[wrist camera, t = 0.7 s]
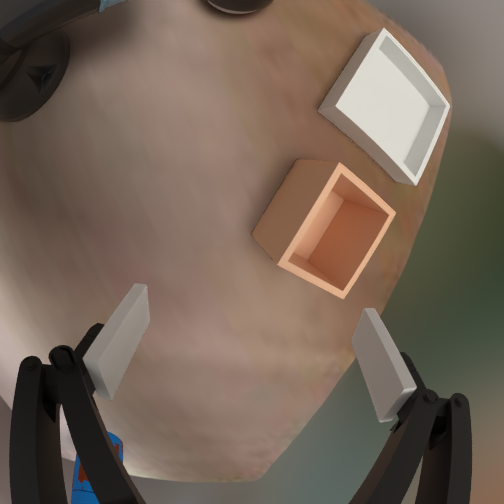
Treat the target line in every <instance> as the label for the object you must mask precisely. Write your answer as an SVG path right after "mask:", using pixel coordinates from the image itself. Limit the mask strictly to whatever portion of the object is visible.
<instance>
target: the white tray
mask: <svg viewBox="0 0 504 504" xmlns="http://www.w3.org/2000/svg"><path fill="white" fill-rule="evenodd" d="M449 108H450V105H449V103H448V102H447V101H446V99H445V98H444V96H443V95H442V94H441V92H440V91H439V89H438V88H437V87H436V85H435V84H434V83H433V81H432V80H431V79H430V78H429V76H428V75H427V74H426V73H425V71H424V70H423V69H422V68H421V67H420V65H419V64H418V63H417V62H416V61H415V60H414V58H413V57H412V56H411V55H410V54H409V53H408V52H407V51H406V50H405V49H404V47H403V46H402V45H401V44H400V43H399V42H398V41H397V40H396V39H395V38H394V37H393V36H392V35H391V34H390V33H389V32H388V31H387V30H386V29H385V28H382V29H379V30H377V31H375V32H373V33H371V34H369V35H367V36H365V37H364V39H363V40H362V42H361V43H360V45H359V46H358V48H357V49H356V51H355V52H354V54H353V56H352V57H351V59H350V60H349V62H348V63H347V65H346V66H345V68H344V69H343V71H342V72H341V74H340V76H339V77H338V79H337V80H336V82H335V83H334V85H333V86H332V88H331V90H330V91H329V93H328V94H327V96H326V97H325V99H324V101H323V102H322V104H321V105H320V107H319V108H318V110H317V111H318V112H319V113H320V114H322V115H323V116H324V117H325V118H327V119H328V120H329V121H330V122H332V123H333V124H334V125H335V126H336V127H338V128H339V129H340V130H341V131H342V132H344V133H345V134H346V135H347V136H348V137H349V138H351V139H352V140H353V141H354V142H355V143H356V144H357V145H358V146H359V147H361V148H362V149H363V150H364V151H365V152H366V153H367V154H368V155H369V156H370V157H371V158H372V159H373V160H375V161H376V162H377V163H378V164H379V165H380V166H381V167H382V168H383V169H384V170H385V171H386V172H387V173H388V174H389V175H390V176H391V177H392V178H393V179H394V180H395V181H396V182H400V183H405V184H410V185H414V186H416V185H417V183H418V181H419V179H420V177H421V175H422V173H423V171H424V169H425V166H426V164H427V162H428V160H429V157H430V155H431V153H432V151H433V148H434V146H435V144H436V141H437V139H438V136H439V134H440V131H441V129H442V126H443V124H444V121H445V119H446V116H447V113H448V110H449Z"/></svg>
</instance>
